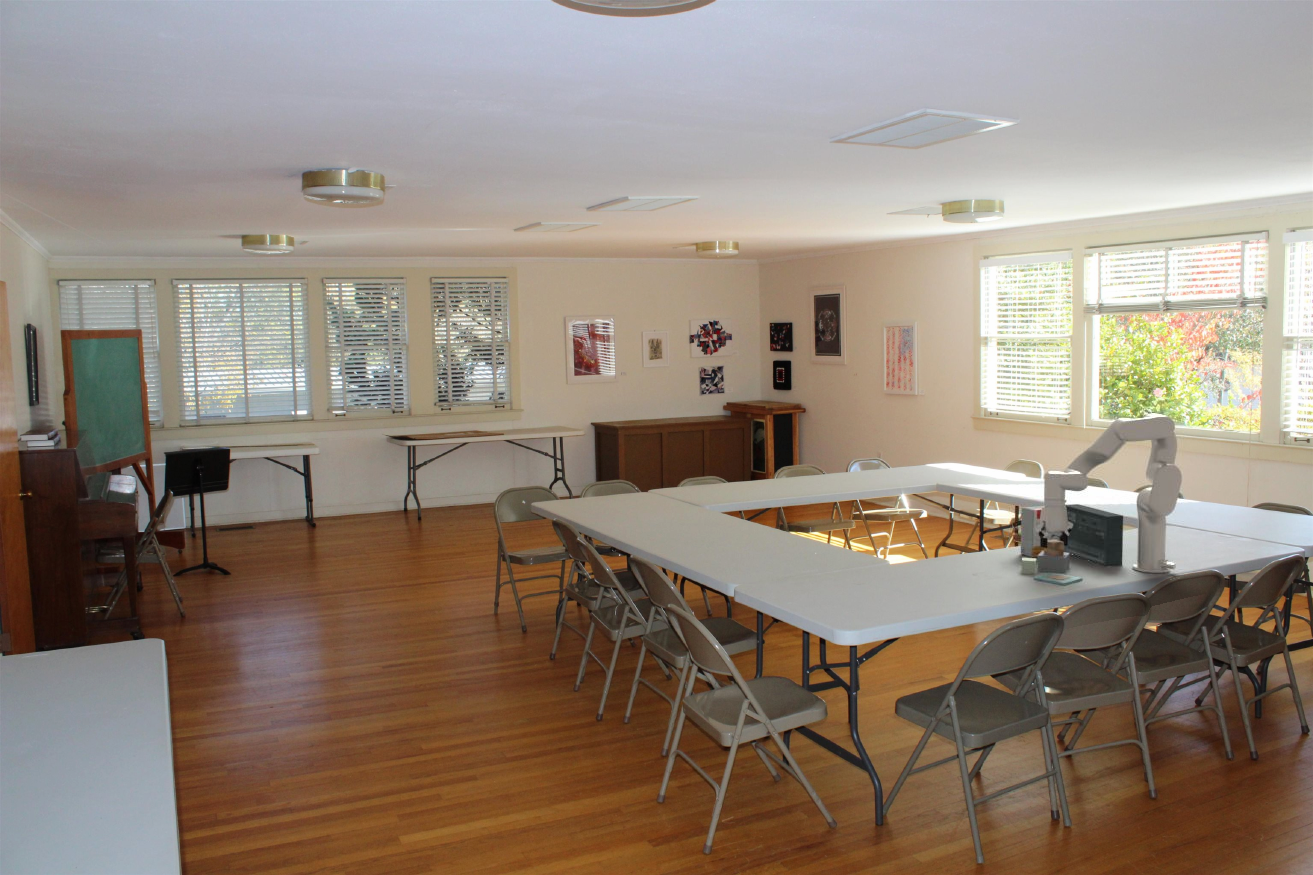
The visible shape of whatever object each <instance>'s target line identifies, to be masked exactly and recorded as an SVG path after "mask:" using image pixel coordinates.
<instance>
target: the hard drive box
mask: <svg viewBox="0 0 1313 875" xmlns="http://www.w3.org/2000/svg"><path fill="white" fill-rule="evenodd" d="M1043 506H1044V505H1041V506H1040V505H1039V506H1022V507H1021V512H1020V514H1021V521H1020V522H1021V523H1020V524H1021V526H1020V527H1021V528H1020V554H1021V555H1024V556H1027V557H1029V558H1038V555H1039V554H1040V553H1041V552H1042V551H1044V548H1043V547H1040V537H1039V535H1038V534H1037V532H1036V529H1035V527H1036V526H1037V525H1039V524H1040V515H1041V510H1042V507H1043ZM1061 535H1062V533H1061V532H1055V533H1049V534H1048V535H1047V537H1046V538H1047V540H1058V541H1061Z"/></svg>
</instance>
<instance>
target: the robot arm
mask: <svg viewBox="0 0 1313 875" xmlns="http://www.w3.org/2000/svg"><path fill="white" fill-rule="evenodd" d="M1175 428H1176V424H1175V421H1174V420H1173V418H1171V417H1170V416H1168V415H1165V414H1159V413H1148V414H1146V415H1144V416H1143V417H1142V418H1126V417H1119V418H1117V419H1115V420H1114V421H1113V422H1112V423H1111V424H1110V425H1109V426H1108V427H1107V428H1106V429H1105V430H1104V432H1103V433H1101V435H1100V436H1098V438H1097V439H1096V440H1095V441H1094V442H1093V444H1092V445H1091V446H1089V447H1088V448H1086V449H1085V450H1084V451H1083V452H1082V453H1080V454H1079V455H1078V456H1077V457H1075V459H1073V461H1072V462H1071V463H1070V464H1069V465H1068V466H1067V467H1066V468H1065V469H1064V470H1063V471H1057V470H1049V471H1046V472H1045V473H1044V477H1043V478H1044V481H1043V482H1044V484H1043V486H1044V487H1043V490H1044V491H1043V492H1044V494H1043V505H1042V506H1043V507H1042V510H1041V515H1040V524H1039V525H1037V526H1036V527H1035V529H1036V532H1037V534H1038V535H1039V537H1040V547H1043V548H1047V538H1046V537H1047V535H1048V534H1049V533H1055V532H1061V533H1062V535H1061V541H1062V542H1064V546H1068V536H1069V533H1070V532H1071V530H1072V527H1073V523H1071V522H1069V521H1068V517H1067V509H1066V506H1065V505H1066V503H1067V499H1066V491H1072V492H1081V491H1084V490H1086V489H1087V488H1088V487H1089V485H1090V484H1089V483H1090V482H1089V478H1088V476H1087V475H1088V474H1089V473H1090V472H1091V471H1092V470H1093V469H1095V468H1096V467H1098V466H1100V465H1103V464H1105V463H1107V462H1109V461H1111V460H1112V459H1113V458H1114V457H1115V456H1116V454H1117V453H1118V452H1119V451H1120V450H1121V449H1122V448H1123V447H1124V446H1125V445H1126V444H1127V443H1129V442H1130V443H1131V442H1132V443H1133V442H1134V443H1136V442H1144V441H1150V442H1151V448H1150V454H1149V457H1148V458H1149V459H1148V462H1147V467H1146V470H1145V477H1146V479H1147V480H1148V483H1151V487H1146V488H1144V489H1142V490H1140V492H1139V493H1138V494H1137V497H1136V509H1137V547H1136V548H1137V550H1136V552H1137V554H1136V563H1134V564H1133V565H1132V569H1134V570H1135V571H1139V572H1142V573H1149V574H1164V573H1168V572H1170V569H1171V570H1175V569H1176V566H1177V565H1176V564H1175V563H1173V562H1169V559H1168V558H1166V546H1167V545H1166V543H1167V542H1166V539H1167V538H1166V537H1167V516H1169V515H1170V514H1172V513H1173V511H1174V510H1175V508H1176V505H1177V504H1178V503H1177V502H1178V498H1179V494H1180V490H1181V486H1182V481H1183V476H1182V472H1181V470H1180V468H1179V467H1178V466H1177V465H1176V464H1175V462H1176V458H1177V450H1178V439H1177V437H1176V433H1175Z"/></svg>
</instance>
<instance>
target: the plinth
mask: <svg viewBox="0 0 1313 875" xmlns="http://www.w3.org/2000/svg"><path fill="white" fill-rule="evenodd" d="M1070 555H1071V554H1070V553H1067V552H1064V555H1055V556H1052V555H1048V554H1045V553H1044V551H1042V552H1041V553H1040V554H1039V555H1038V557H1037V570H1038V571H1043V572H1054V573H1067V571H1068V570H1069V569H1070V562H1071V561H1070V558H1071V556H1070Z"/></svg>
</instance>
